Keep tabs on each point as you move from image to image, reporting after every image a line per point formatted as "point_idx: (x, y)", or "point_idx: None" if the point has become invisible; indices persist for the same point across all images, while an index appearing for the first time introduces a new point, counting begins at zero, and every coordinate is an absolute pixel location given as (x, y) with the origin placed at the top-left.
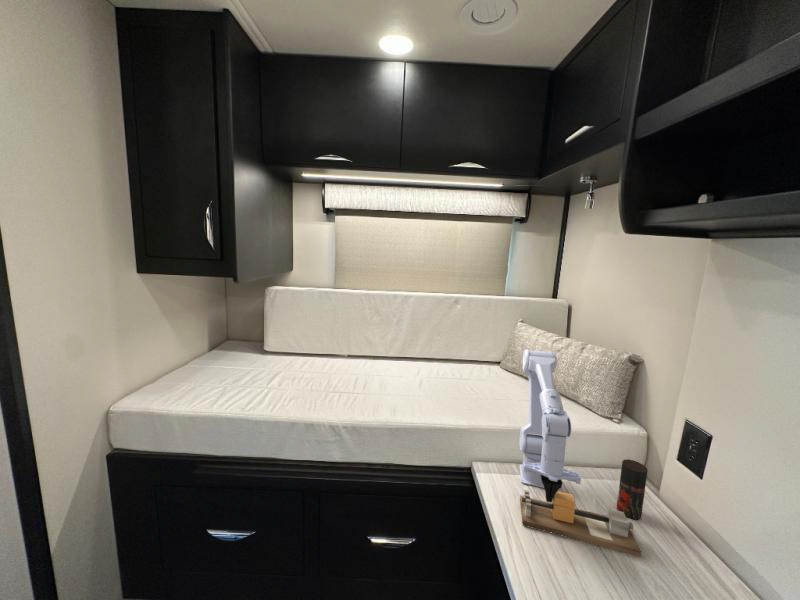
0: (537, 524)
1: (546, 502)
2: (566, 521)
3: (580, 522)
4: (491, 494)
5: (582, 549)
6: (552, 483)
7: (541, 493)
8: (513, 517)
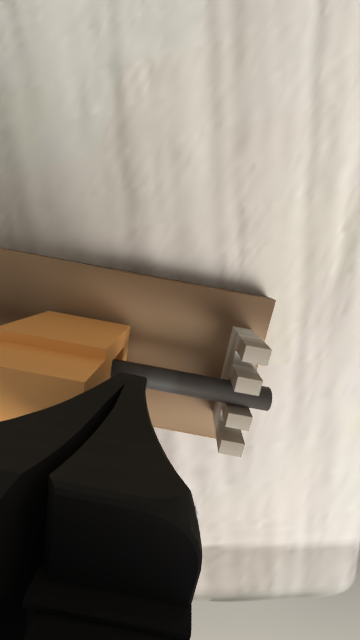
0: (212, 289)
1: None
2: (75, 316)
3: None
4: (346, 440)
5: (55, 214)
6: (28, 499)
7: None
8: (292, 333)
